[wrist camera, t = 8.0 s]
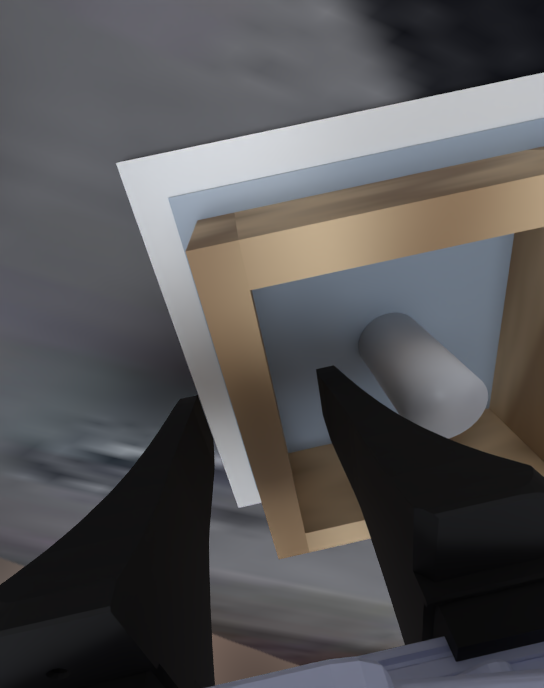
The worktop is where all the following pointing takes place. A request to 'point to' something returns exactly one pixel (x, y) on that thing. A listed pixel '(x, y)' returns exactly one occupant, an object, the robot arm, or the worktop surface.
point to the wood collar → (354, 251)
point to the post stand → (352, 284)
